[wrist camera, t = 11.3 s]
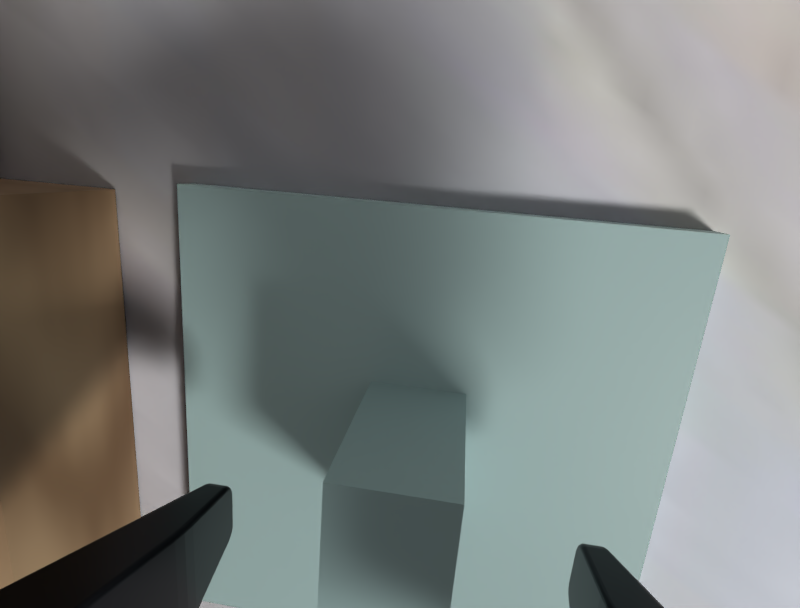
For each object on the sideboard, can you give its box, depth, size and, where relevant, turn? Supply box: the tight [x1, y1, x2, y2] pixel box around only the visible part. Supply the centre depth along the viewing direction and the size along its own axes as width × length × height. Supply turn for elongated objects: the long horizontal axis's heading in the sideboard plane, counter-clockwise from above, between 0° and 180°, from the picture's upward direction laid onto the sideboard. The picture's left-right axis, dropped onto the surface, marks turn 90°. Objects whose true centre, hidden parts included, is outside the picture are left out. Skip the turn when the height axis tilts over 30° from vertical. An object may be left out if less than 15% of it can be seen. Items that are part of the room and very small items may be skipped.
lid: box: [177, 183, 730, 608], centre depth 9 cm, size 10×10×5 cm
